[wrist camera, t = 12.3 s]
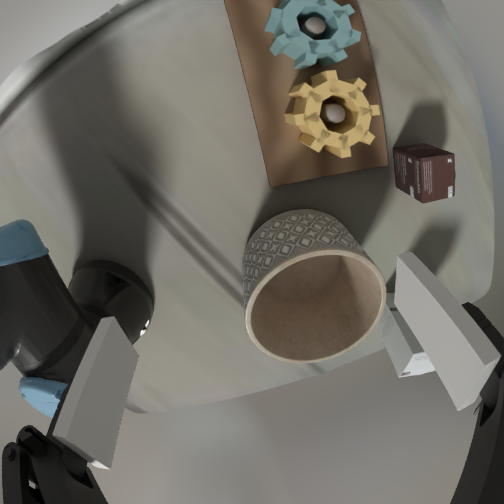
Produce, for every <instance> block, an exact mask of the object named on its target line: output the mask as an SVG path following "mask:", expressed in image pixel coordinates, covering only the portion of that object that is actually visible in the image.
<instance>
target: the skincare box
mask: <svg viewBox="0 0 504 504" xmlns="http://www.w3.org/2000/svg"><path fill="white" fill-rule="evenodd" d="M394 296H395V293H386V303H385V308H384V310H383V313H382V316H381V318H380V319H379V321H378V323H377V325H376V327H377V329H378V331H379V333H380V336H381V338H382V340H383V342H384V344H385V347H386V349H387V351H388V353H389V355H390V358H391V360H392V362H393V365H394V367H395V369H396V372H397V374H398V376H399V377H405V376H411V375H421V374H424V373H427V372H431V371H435V368H434V366H433V365H432V363H431V361H430V359H429V358H428V356H427V354H426V353H425V351H424V350H423V348H422V346H421V345H420V343H419V341H418V340H417V338H416V337H415V335H414V333H413V332H412V330H411V329H410V327H409V326H408V324H407V322H406V321H405V319H404V318H403V316H402V315H401V313H400V312H399V310H398V309H397V307H396V306H395V304H394Z"/></svg>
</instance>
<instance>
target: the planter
mask: <svg viewBox="0 0 504 504" xmlns="http://www.w3.org/2000/svg"><path fill="white" fill-rule="evenodd" d="M242 269H243V289H244V308H245V323H246V328H247V331H248V334H249V336H250V338H251V340H252V341H253V342H254V344H255V345H256V346H257V347H258V348H259V349H260V350H261V351H263V352H264V353H266V354H267V355H269V356H271V357H273V358H276V359H278V360H282V361H285V362H292V363H313V362H319V361H324V360H327V359H330V358H333V357H336V356H338V355H341V354H343V353H345V352H346V351H348V350H350V349H352V348H353V347H355V346H356V345H357V344H359V343H360V342H361V341H362V340H363V339H365V338H366V337H367V336H368V335H369V333H370V332H371V331H372V330H373V329H374V327H375V326H376V325H377V323H378V321H379V319H380V318H381V316H382V313H383V310H384V308H385V303H386V285H385V280H384V278H383V276H382V274H381V272H380V270H379V269H378V268H377V266H376V265H375V264H374V262H373V261H372V260H371V259H370V257H369V256H368V255H367V253H366V252H365V251H364V250H363V248H362V247H361V246H360V245H359V243H358V242H357V241H356V240H355V238H354V237H353V236H352V235H351V234H350V232H349V231H348V230H347V229H346V228H345V226H344V225H343V224H342V223H341V222H340V221H339V220H337V219H336V218H335V217H333V216H331V215H329V214H327V213H324V212H322V211H318V210H312V209H298V210H291V211H287V212H284V213H281V214H279V215H277V216H275V217H273V218H271V219H270V220H268V221H266V222H265V223H264V224H263V225H262V226H260V227H259V228H258V229H257V230H256V232H255V233H254V234H253V235H252V237H251V238H250V240H249V242H248V243H247V246H246V248H245V251H244V255H243V265H242Z"/></svg>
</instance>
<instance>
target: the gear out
mask: <svg viewBox="0 0 504 504" xmlns="http://www.w3.org/2000/svg"><path fill="white" fill-rule="evenodd" d="M311 81H312V85H311V86H309V85H308V84H306V83H302V84H300V85H297V86H294V87H293V88H292V89H291V91H290V92H289V95H290V96H292V97H293V98H295V104H294V110H293V113H287V114H284V115H285V120H286V123H289V124H292V125H296V126H298V127H299V128H300V130H301V131H302V135H301V136H300V138H299V139H298V140H299V141H300V142H302V143H303V144H305V145H306V146H308V147H310V148H312V149H313V150H315V151H317V152H320V150H321V149H322V147H323V146H324V147H325V150H327V151H329V152H331V153H333V154H335V155H337V156H339V157H340V158H345V157H351V151H350V146H352V145H354V144H355V143H357V142H358V141H360V142H363V143H366V144H369V145H370V144H371V142H372V141H373V139H374V138H375V136H374V135H373V134H371V133H370V132H369V131H368V130H369V125H370V121H371V116H373V115H380V111H379V105H371V104H369V103H368V101H367V99H366V98H365V96H364V94H363V92H362V90H363V89H364V88H365V86H366V85H367V84H366V83H365V82H364V81H362V80H361V79H360V78H359V77H358V78H353V79H348V80H343V81H341V80H338V77H337V73H336V70H331V71H324V72H321V73H319V74H316V75H314V76H311ZM327 98H331V99H333V101H334V102H335V104H337V105H340V106H342V107H343V109H344V110H345V118H344V120H343V121H341V122H339V123H336V124H334V125H332V126H331V127H329V128H328V129H327V128H326V127H325V125H324V123H323V122H322V120H321V119H320V117H319V115H320V110H321V105H322V101H323V100H325V99H327Z"/></svg>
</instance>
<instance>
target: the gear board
mask: <svg viewBox="0 0 504 504" xmlns="http://www.w3.org/2000/svg"><path fill="white" fill-rule="evenodd" d="M281 1H282V0H224V3H225V7H226V10H227V14H228V17H229V21H230V25H231V28H232V32H233V36H234V40H235V43H236V47H237V51H238V55H239V59H240V62H241V66H242V70H243V74H244V78H245V82H246V86H247V90H248V94H249V98H250V102H251V107H252V111H253V115H254V119H255V123H256V128H257V132H258V136H259V141H260V145H261V149H262V154H263V158H264V163H265V167H266V172H267V176H268V181H269V184H270V187H276V186H280V185H285V184H290V183H295V182H299V181H304V180H309V179H314V178H320V177H325V176H330V175H336V174H341V173H347V172H352V171H358V170H364V169H370V168H376V167H383V166H388V158H387V148H386V139H385V131H384V123H383V116H382V109H381V103H380V97H379V91H378V86H377V80H376V75H375V71H374V66H373V61H372V57H371V53H370V49H369V44H368V41H367V37H366V33H365V29H364V26H363V22H362V19H361V15H360V12H359V9H358V6H357V3H356V0H332V1H334V2H335V3H337V4H338V5H340V6H341V7H342V6H345V5H347V4H350V6H351V7H352V8H353V9H354V11H355V12H354V13H353V14H352V15H350V16H349V20H350V24H351V27H352V29H354V30H356V31H359V32H361V37H360V41H359V42H356V43H354V44H352V45H350V46H348V47H346V48H344V49H343V50H344V51H345V53H346V54H347V56H348V57H347V58H345V59H343V60H341V61H339V62H336V63H334V64H331V65H329V66H326V67H324V68H322V66H321V65H320V63H319V62H318V61H316V63H315V64H313V65H311V66H309V67H307V68H306V69H304V70H300V69H296V68H293V67H294V62H295V60H294V59H292V58H291V57H289V56H287V55H286V54H284V53H283V52H282V53H280V54H279V55H277V56H274V55H273V53H272V52H271V51H270V50H269V49H270V48H271V46H272V44H273V42H274V41H275V37H274V33H272V32H266V31H265V26H266V22H267V20H268V17H269V14H270V12H271V9H272V7H273V8H278V7H279V5H280V3H281ZM298 25H299V29H300V31H301V32H302V33H304V34H306V35H307V36H309V37H310V38H312V39H313V40H322V39H321V35H320V34H321V33H322V32H323V31H324V30H325V23H324V22H323V20H321V19H320V18H317V17H311V18H309V19H308V20H307V21H300V22H298ZM331 70H336V73H337V77H338V80H341V81H343V80H348V79H353V78H358V77H359V78H360V79H361V80H362V81H364V82H365V83H366V84H367V85H366V86H365V88H364V89H363V90H362V92H363V94H364V96H365V98H366V99H367V101H368V103H369V104H371V105H379V111H380V115H373V116H371V121H370V125H369V130H368V131H369V132H370V133H371V134H373V135H374V136H375V138H374V139H373V141H372V142H371V144H370V145H369V144H366V143H363V142H360V141H358V142H357V143H355V144H354V145H352V146H350V151H351V157H345V158H340V157H339V156H337V155H335V154H333V153H331V152H329V151H327V150H325V147H324V146H323V147H322V149H321V150H320V152H317V151H315V150H313V149H312V148H310V147H308V146H306V145H305V144H303V143H302V142H300V141H299V140H298V139H299V138H300V136H301V135H302V131H301V130H300V128H299V127H298V126H296V125H292V124H289V123H286V120H285V115H284V114H287V113H293V110H294V104H295V98H293V97H292V96H290V95H289V92H290V91H291V89H292V88H293V87H294V86H297V85H300V84H302V83H306V84H308V85H309V86H311V85H312V81H311V76H314V75H316V74H319V73H321V72H324V71H331ZM319 117H320V119H321V120H322V122H323V123H324V125H325V127H326V128H327V129H328V128H329V127H331V126H332V125H334V124H336V123H339V122H341V121H343V120H344V118H345V110H344V109H343V107H342V106H340V105H337V104H335V102H334V101H333V99H331V98H327V99H325V100H323V101H322V105H321V110H320V115H319Z"/></svg>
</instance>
